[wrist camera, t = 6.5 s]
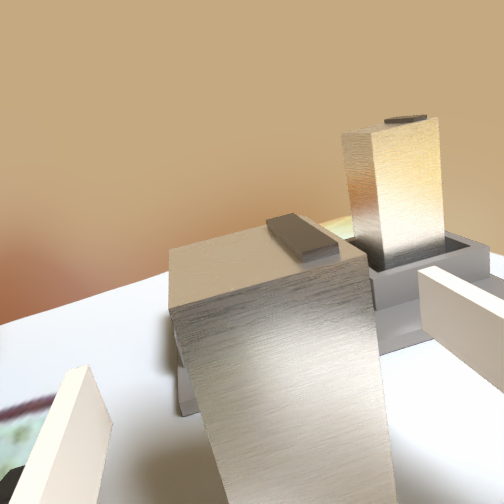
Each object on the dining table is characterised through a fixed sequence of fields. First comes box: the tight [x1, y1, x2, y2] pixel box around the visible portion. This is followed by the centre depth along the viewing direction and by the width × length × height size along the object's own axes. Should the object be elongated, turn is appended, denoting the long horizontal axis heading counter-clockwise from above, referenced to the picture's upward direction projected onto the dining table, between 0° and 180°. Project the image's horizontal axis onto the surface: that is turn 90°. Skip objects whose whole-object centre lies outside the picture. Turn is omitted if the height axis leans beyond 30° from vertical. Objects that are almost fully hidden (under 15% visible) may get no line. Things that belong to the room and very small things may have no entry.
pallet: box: [174, 230, 504, 417], centre depth 32 cm, size 24×16×4 cm, turn 101°
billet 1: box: [168, 213, 397, 504], centre depth 14 cm, size 5×5×12 cm
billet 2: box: [341, 115, 445, 273], centre depth 31 cm, size 5×5×12 cm
